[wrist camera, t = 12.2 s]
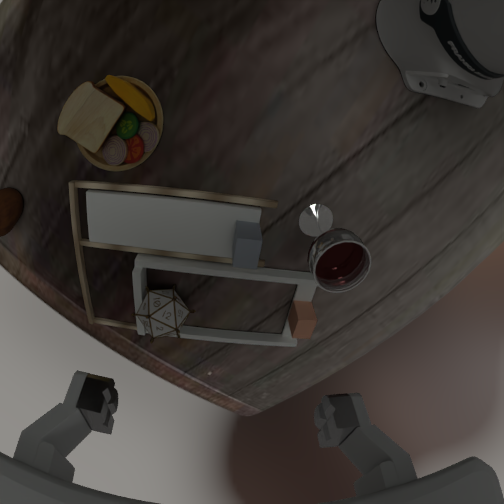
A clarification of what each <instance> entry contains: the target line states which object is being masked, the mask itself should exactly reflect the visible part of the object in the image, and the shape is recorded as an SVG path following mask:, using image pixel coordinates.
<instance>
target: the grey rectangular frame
mask: <svg viewBox="0 0 504 504" xmlns="http://www.w3.org/2000/svg"><path fill="white" fill-rule="evenodd" d="M146 268H152V269H160V270H168V271H177V272H185V273H193V274H202V275H211V276H220V277H229V278H239V279H248V280H258V281H268V282H278V283H288V284H297V287H296V291H295V294H294V297H293V300H292V304H291V307H290V310H289V313H288V316H287V319H286V322H285V325H284V328H283V331H282V334H271V333H256V332H243V331H231V330H221V329H210V328H201V327H192V326H182V328H181V329H180V333H178V334H180V338H188V339H197V340H206V341H216V342H227V343H239V344H253V345H270V346H291V347H296V345H297V339H296V338H302V339H310V338H311V335H312V333H313V330H314V328H315V325H316V323H317V317H316V314H315V311H314V308H313V305H312V302H311V301H312V298H313V296H314V293H315V290H316V287H317V286H318V285H317V283H316V282H315V280H314V275H313V274H312V273H310V272H300V271H291V270H281V269H272V268H262V267H257V269H247V268H238V267H232V264H226V263H217V262H209V261H200V260H191V259H183V258H174V257H166V256H158V255H149V254H141V253H138V255H137V257H136V259H135V267H134V269H133V271H132V277H133V291H134V303H135V313H137V312H138V310H139V308H140V306H141V304H142V302H143V300H144V298H145V296H146V294H147V291H146V289H145V286H147V277H146ZM136 322H137V331H138V334H140V335H145V333H149V332H148V331H147V330H146V328H145V327H144V325H143V324H142V323H141V321H140V320H139V318H138V317H137V316H136ZM172 337H177V335H172Z"/></svg>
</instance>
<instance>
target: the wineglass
mask: <svg viewBox="0 0 504 504" xmlns="http://www.w3.org/2000/svg"><path fill="white" fill-rule="evenodd" d="M332 223H333V215H332V212H331V211H330V209H329V208H327V207H326V206H324V205H321V204H314V205H311V206H309V207H307V208H306V209H305V210H304V211H303V212H302V213H301V215H300V217H299V226H300V229H301V230H302V232H303V233H305V234H306V235H308V236H317V237H316V239H315V240H314V241H313V242H312V244H311V247H310V249H309V252H308V260H307V261H308V265H309V268H310V271H311V272H312V274H313V275H314V280H315V282H316V283H317V285H318V286H319V287H320V288H322V289H323V290H325V291H328V292H332V293H341V292H345V291H348V290H351V289H353V288H354V287H356V286H358V285H359V284H360V283H361V282H362V281H363V280H364V279H365V278H366V276H367V274H368V273H369V271H370V267H371V255H370V253H369V251H368V249H367V248H366V247H365V246H364V244H363V242H362V240H361V239H360V238H359V237H358V236H357V235H356V234H355V233H353V232H352V231H349V230H346V229H343V228H333V229H330V227H331V225H332Z"/></svg>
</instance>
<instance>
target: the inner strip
mask: <svg viewBox="0 0 504 504" xmlns="http://www.w3.org/2000/svg"><path fill="white" fill-rule="evenodd" d="M86 203H87V218H88V231H89V241H91V242H99V243H107V244H116V245H124V246H132V247H140V248H149V249H157V250H165V251H174V252H182V253H191V254H200V255H208V256H217V257H226V258H232V267H238V268H247V269H257V266H258V261H259V256H260V251H261V246H262V242H263V240H262V235H261V230H260V225H259V222H260V216H261V211H262V210H261V208H260V207H252V206H245V205H237V204H229V203H221V202H213V201H204V200H196V199H187V198H177V197H168V196H158V195H147V194H136V193H125V192H113V191H100V190H88V191H87V192H86Z"/></svg>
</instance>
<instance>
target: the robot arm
mask: <svg viewBox="0 0 504 504" xmlns="http://www.w3.org/2000/svg"><path fill="white" fill-rule="evenodd" d="M376 23H377V30H378V33H379V37H380V39H381V42H382V44H383V46H384V48H385V50H386V51H387V53H388V54H389V56H390V57H391V58H392V60H393V61H394V62H395V63H396V65H397V66H398V68H399V69H400V72H401V75H402V78H403V81H404V83H405V85H406V87H407V88H408V89H409V90H410V91H413V92H417V93H422V94H426V95H431V96H435V97H439V98H443V99H446V100H450V101H454V102H457V103H461V104H464V105H468V106H471V107H474V108H481V107H482V106H483V105H484V103H485V102H486V100H487V98H488V96H489V97H494V96H496V95H497V94H498V92H499V91H500V89H501V87H502V84H503V80H504V0H381V1H380V3H379V5H378V8H377V14H376ZM420 82H421V87H420V86H419V83H420ZM114 385H115V382H114V380H113V379H112V378H107V377H102V376H98V375H93V374H90V373H86V372H81V371H76V372H75V374H74V376H73V378H72V381H71V384H70V386H69V389H68V392H67V394H66V397H65V400H64V403H63V404H62V403H59V404H58V405H57V406H55V407H54V408H53V409H51V410H50V411H48V412H47V413H46V414H44V415H43V416H42V417H40V418H39V419H38V420H36V421H35V422H34V423H33V424H31V425H30V426H28V427H27V428H26V429H24V430H23V431H22V432H21V435H20V438H19V441H18V444H17V447H16V451H15V453H14V457H13V458H11V457H9V456H7V455H5V454H3V453H1V452H0V504H159V503H152V502H146V501H141V500H136V499H130V498H126V497H121V496H117V495H112V494H109V493H105V492H101V491H97V490H94V489H91V488H87V487H83V486H81V485H78V484H74V483H72V481H73V476H74V471H75V468H74V467H73V465H72V464H71V463H69V461H68V460H67V459H66V458H65V457H66V456H67V455H68V454H69V453H70V452H71V451H72V450H73V449H74V448H75V447H76V446H77V445H78V444H79V443H80V442H81V441H82V440H83V439H84V438H85V437H86V436H87V435H88V434H89V433H90V432H91V430H94V431H98V432H102V433H107V434H111V433H112V428H113V423H114V419H113V416H112V414H114V413H115V412H116V411H117V406H118V393H117V390H116V389H115V388H114ZM314 421H315V425H316V426H317V427H318V428H319V429H320V430H319V432H318V434H317V435H318V440H319V445H320V448H322V447H334V446H339V448H340V449H341V450H342V452H343V453H344V454H345V455H346V456H347V457H348V458H349V460H350V461H351V462H352V463H353V464H354V465H355V466H356V467H357V468H358V470H359V471H360V472H361V473H362V474H363V475H364V476H362V477H361V478H359V479H358V480H357V481H356V482H355V483H354V487H355V492H356V497H352V498H347V499H343V500H337V501H331V502H325V503H319V504H504V498H503V494H502V491H501V487H500V484H499V481H498V478H497V475H496V473H495V471H494V470H493V468H492V467H490V466H489V465H487V464H486V463H485V462H483V461H482V460H481V459H479V458H477V457H469V458H467V459H465V460H462V461H460V462H458V463H456V464H454V465H451V466H449V467H447V468H444V469H442V470H440V471H437V472H435V473H432V474H430V475H427V476H424V477H422V478H419V479H417V476H416V472H415V469H414V467H413V464H412V461H411V458H410V455H409V454H408V453H407V452H406V451H404V450H403V449H402V448H401V447H400V446H398V445H397V444H396V443H395V442H394V441H393V440H392V439H390V438H389V437H388V436H387V435H386V434H385V433H383V432H382V431H381V430H380V429H379V428H378V427H377V426H375V425H371V422H370V419H369V416H368V413H367V410H366V408H365V405H364V402H363V399H362V396H361V395H360V393H350V394H336V395H335V394H334V395H325V396H323V398H322V403H321V404H319V405H318V406H317V407H316V409H315V414H314Z"/></svg>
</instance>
